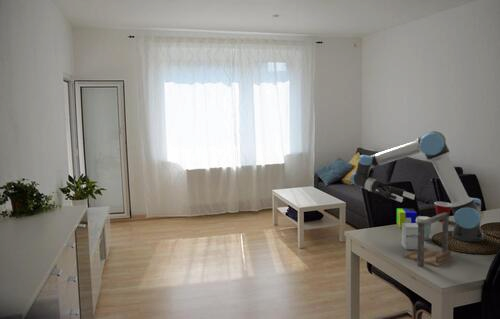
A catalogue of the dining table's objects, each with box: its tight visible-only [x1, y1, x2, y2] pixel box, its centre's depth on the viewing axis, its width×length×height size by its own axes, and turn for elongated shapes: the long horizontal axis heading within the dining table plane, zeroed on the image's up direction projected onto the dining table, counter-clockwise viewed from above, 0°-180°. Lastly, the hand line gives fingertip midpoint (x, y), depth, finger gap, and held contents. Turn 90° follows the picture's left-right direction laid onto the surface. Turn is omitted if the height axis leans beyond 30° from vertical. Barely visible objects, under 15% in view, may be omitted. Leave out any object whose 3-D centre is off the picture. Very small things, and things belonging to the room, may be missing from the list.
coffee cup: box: [416, 215, 432, 241], centre depth 208 cm, size 8×8×12 cm
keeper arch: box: [405, 212, 454, 268], centre depth 180 cm, size 16×26×21 cm, turn 127°
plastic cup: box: [433, 201, 452, 223], centre depth 237 cm, size 11×11×12 cm
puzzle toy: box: [396, 207, 418, 229], centre depth 231 cm, size 10×10×10 cm
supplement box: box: [401, 223, 418, 250], centre depth 195 cm, size 7×7×13 cm
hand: (408, 198), depth 199 cm, fingers open, 13 cm apart
